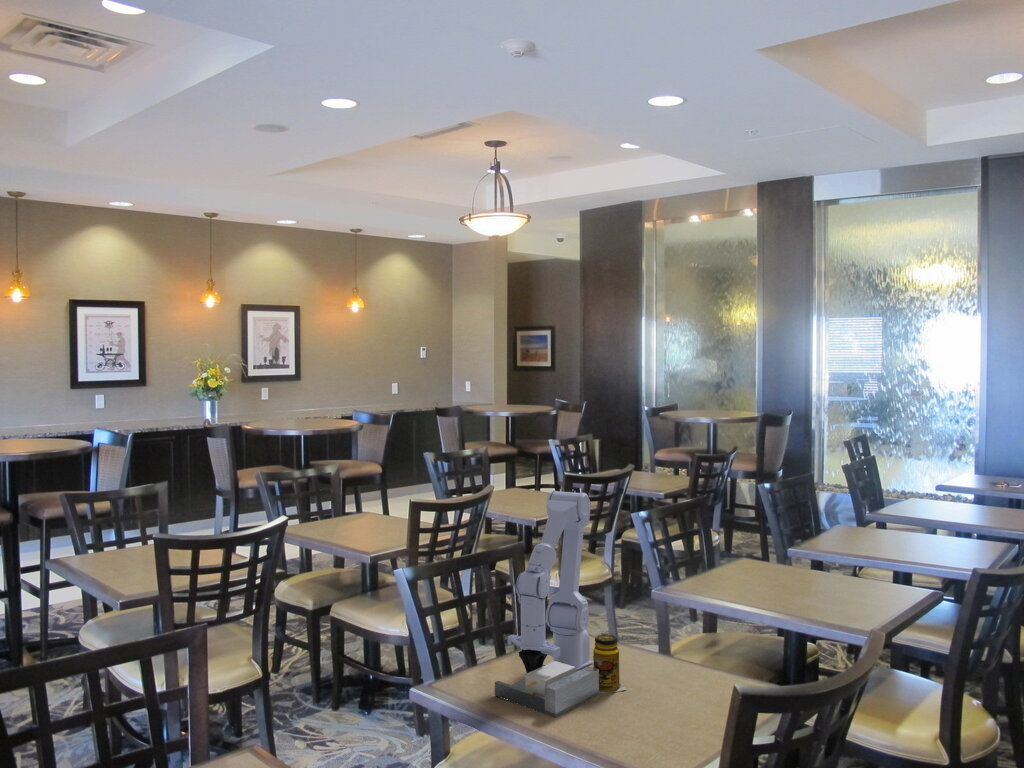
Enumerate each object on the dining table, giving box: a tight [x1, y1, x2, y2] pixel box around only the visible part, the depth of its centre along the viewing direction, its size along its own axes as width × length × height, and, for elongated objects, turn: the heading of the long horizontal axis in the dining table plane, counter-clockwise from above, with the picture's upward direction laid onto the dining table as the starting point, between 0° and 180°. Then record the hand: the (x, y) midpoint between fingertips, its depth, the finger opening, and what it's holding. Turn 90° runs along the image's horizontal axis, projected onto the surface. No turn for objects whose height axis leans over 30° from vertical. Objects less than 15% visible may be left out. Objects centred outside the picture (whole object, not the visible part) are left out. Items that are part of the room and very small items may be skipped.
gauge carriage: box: [524, 661, 577, 696], centre depth 190 cm, size 14×6×5 cm, turn 138°
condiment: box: [592, 633, 628, 695], centre depth 198 cm, size 7×8×12 cm
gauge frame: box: [494, 664, 600, 718], centre depth 192 cm, size 16×18×6 cm
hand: (533, 680), depth 195 cm, fingers closed
